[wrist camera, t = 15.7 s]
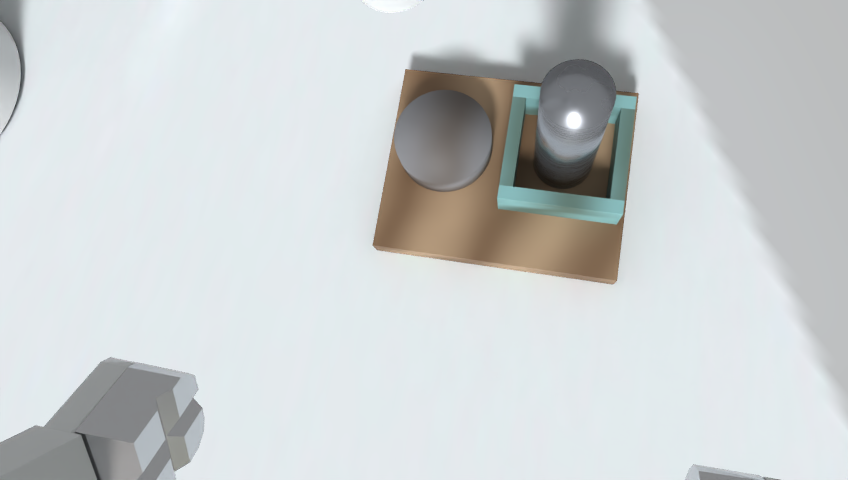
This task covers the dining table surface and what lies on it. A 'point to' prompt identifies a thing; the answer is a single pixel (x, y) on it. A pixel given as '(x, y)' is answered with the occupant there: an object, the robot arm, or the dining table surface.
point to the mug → (391, 5)
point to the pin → (571, 121)
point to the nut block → (498, 182)
